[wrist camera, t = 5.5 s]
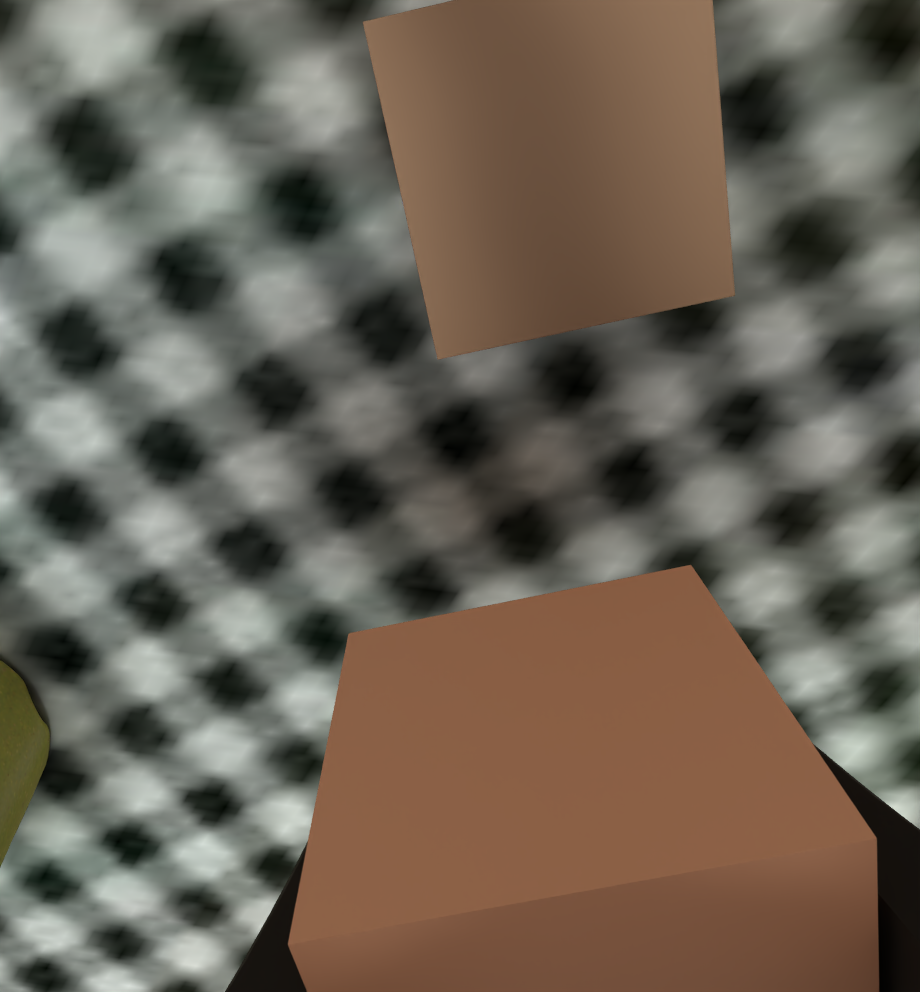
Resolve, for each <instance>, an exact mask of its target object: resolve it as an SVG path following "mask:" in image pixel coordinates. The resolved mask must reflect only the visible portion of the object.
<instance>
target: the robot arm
mask: <svg viewBox="0 0 920 992" xmlns="http://www.w3.org/2000/svg"><path fill="white" fill-rule="evenodd" d="M812 744H813V743H812ZM813 745H814V744H813ZM814 747H815V748H816V750H817V751H818V753H819V754H820V755H821V757H822V758H823V760H824V761H825V763H826V764H827V766H828V767H829V769H830V770H831V772H832V773H833V775H834V776H835V778H836V779H837V781H838V782H839V783H840V785H841V786H842V788H843V789H844V791H845V792H846V794H847V795H848V797H849V798H850V800H851V801H852V803H853V804H854V806H855V807H856V808H857V810H858V811H859V813H860V814H861V816H862V817H863V819H864V820H865V822H866V823H867V825H868V826H869V828H870V829H871V831H872V832H873V833H874V835H875V836H876V838H877V884H878V947H879V992H920V829H918V828H917V827H916V826H914V825H913V824H912V823H910V822H909V821H908V820H906V819H905V818H904V817H903V816H901V815H900V814H899V813H897V812H896V811H895V810H894V809H892V808H891V807H890V806H888V805H887V804H886V803H885V802H883V801H882V800H881V799H880V798H878V797H877V796H876V795H875V794H873V793H872V792H871V791H870V790H868V789H867V788H866V787H865V786H863V785H862V784H861V783H860V782H858V781H857V780H856V779H855V778H854V777H852V776H851V775H850V774H849V773H847V772H846V771H845V770H844V769H843V768H841V767H840V766H839V765H838V764H837V763H835V762H834V761H833V760H832V759H831V758H829V757H828V756H827V755H826V754H825V753H823V752H822V751H821V750H820V749H819V748H817V747H816V746H815V745H814ZM307 844H308V842H307ZM307 844H306V846H305V848H304V850H303V852H302V854H301V856H300V858H299V860H298V862H297V864H296V866H295V867H294V869H293V871H292V873H291V875H290V877H289V879H288V881H287V883H286V885H285V887H284V888H283V890H282V892H281V894H280V896H279V898H278V900H277V901H276V903H275V905H274V907H273V909H272V911H271V913H270V914H269V916H268V918H267V920H266V922H265V923H264V925H263V927H262V929H261V930H260V932H259V934H258V936H257V937H256V939H255V941H254V943H253V945H252V946H251V948H250V950H249V952H248V953H247V955H246V957H245V959H244V960H243V962H242V964H241V966H240V967H239V969H238V971H237V973H236V974H235V976H234V978H233V979H232V981H231V983H230V984H229V986H228V988H227V989H226V991H225V992H307V990H306V988H305V985H304V983H303V980H302V978H301V975H300V973H299V971H298V968H297V966H296V963H295V961H294V958H293V956H292V954H291V951H290V949H289V946H288V941H289V936H290V931H291V926H292V921H293V915H294V910H295V905H296V900H297V895H298V890H299V885H300V880H301V875H302V869H303V864H304V859H305V854H306V849H307Z"/></svg>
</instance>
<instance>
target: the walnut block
mask: <svg viewBox="0 0 920 992" xmlns="http://www.w3.org/2000/svg"><path fill="white" fill-rule="evenodd" d="M363 25H364V29H365V34H366V38H367V43H368V47H369V52H370V56H371V61H372V65H373V70H374V74H375V79H376V83H377V88H378V92H379V97H380V101H381V106H382V110H383V115H384V119H385V124H386V128H387V133H388V137H389V142H390V146H391V151H392V156H393V160H394V165H395V169H396V174H397V178H398V183H399V187H400V192H401V196H402V201H403V205H404V210H405V214H406V219H407V223H408V228H409V232H410V237H411V241H412V246H413V250H414V255H415V259H416V264H417V268H418V273H419V277H420V282H421V286H422V291H423V295H424V300H425V304H426V309H427V313H428V318H429V323H430V327H431V332H432V336H433V341H434V345H435V350H436V354H437V359H443V358H447V357H452V356H457V355H461V354H466V353H471V352H475V351H480V350H485V349H489V348H494V347H498V346H503V345H508V344H512V343H517V342H522V341H526V340H531V339H536V338H540V337H545V336H550V335H554V334H559V333H564V332H568V331H573V330H578V329H582V328H587V327H591V326H596V325H601V324H605V323H610V322H615V321H619V320H624V319H629V318H633V317H638V316H643V315H647V314H652V313H657V312H661V311H666V310H671V309H675V308H680V307H685V306H689V305H694V304H698V303H703V302H708V301H712V300H717V299H722V298H726V297H731V296H735V290H734V276H733V263H732V250H731V237H730V224H729V211H728V198H727V184H726V171H725V158H724V145H723V132H722V119H721V106H720V92H719V79H718V66H717V53H716V40H715V27H714V14H713V0H453V1H449V2H445V3H440V4H436V5H432V6H428V7H424V8H419V9H415V10H411V11H407V12H403V13H398V14H394V15H390V16H386V17H381V18H377V19H373V20H369V21H365V22H363Z"/></svg>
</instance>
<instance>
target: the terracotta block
mask: <svg viewBox="0 0 920 992" xmlns="http://www.w3.org/2000/svg"><path fill="white" fill-rule="evenodd" d="M288 946H289V949H290V951H291V954H292V956H293V958H294V961H295V963H296V966H297V968H298V971H299V973H300V975H301V978H302V980H303V983H304V985H305V988H306V990H307V992H879V947H878V884H877V838H876V836H875V835H874V833H873V832H872V831H871V829H870V828H869V826H868V825H867V823H866V822H865V820H864V819H863V817H862V816H861V814H860V813H859V811H858V810H857V808H856V807H855V806H854V804H853V803H852V801H851V800H850V798H849V797H848V795H847V794H846V792H845V791H844V789H843V788H842V786H841V785H840V783H839V782H838V781H837V779H836V778H835V776H834V775H833V773H832V772H831V770H830V769H829V767H828V766H827V764H826V763H825V761H824V760H823V758H822V757H821V755H820V754H819V753H818V751H817V750H816V748H815V747H814V745H813V744H812V742H811V741H810V739H809V738H808V736H807V735H806V733H805V732H804V730H803V729H802V728H801V726H800V725H799V723H798V722H797V720H796V719H795V717H794V716H793V714H792V713H791V711H790V710H789V708H788V707H787V705H786V704H785V703H784V701H783V700H782V698H781V697H780V695H779V694H778V692H777V691H776V689H775V688H774V686H773V685H772V683H771V682H770V680H769V679H768V677H767V676H766V675H765V673H764V672H763V670H762V669H761V667H760V666H759V664H758V663H757V661H756V660H755V658H754V657H753V655H752V654H751V652H750V651H749V650H748V648H747V647H746V645H745V644H744V642H743V641H742V639H741V638H740V636H739V635H738V633H737V632H736V630H735V629H734V627H733V626H732V625H731V623H730V622H729V620H728V619H727V617H726V616H725V614H724V613H723V611H722V610H721V608H720V607H719V605H718V604H717V602H716V601H715V599H714V598H713V597H712V595H711V594H710V592H709V591H708V589H707V588H706V586H705V585H704V583H703V582H702V580H701V579H700V577H699V576H698V574H697V573H696V572H695V570H694V569H693V567H692V566H691V565H688V566H683V567H678V568H673V569H668V570H663V571H658V572H653V573H648V574H643V575H638V576H633V577H628V578H623V579H618V580H613V581H608V582H603V583H598V584H593V585H588V586H583V587H578V588H573V589H568V590H563V591H558V592H553V593H548V594H543V595H538V596H533V597H528V598H523V599H518V600H513V601H508V602H503V603H498V604H493V605H488V606H483V607H478V608H473V609H468V610H463V611H458V612H453V613H448V614H443V615H438V616H433V617H428V618H423V619H418V620H413V621H408V622H403V623H398V624H393V625H388V626H383V627H378V628H373V629H368V630H363V631H358V632H353V633H349V634H348V639H347V645H346V650H345V655H344V660H343V665H342V670H341V675H340V680H339V685H338V691H337V696H336V701H335V706H334V711H333V716H332V721H331V726H330V731H329V737H328V742H327V747H326V752H325V757H324V762H323V767H322V772H321V777H320V783H319V788H318V793H317V798H316V803H315V808H314V813H313V818H312V823H311V829H310V834H309V839H308V844H307V849H306V854H305V859H304V864H303V869H302V875H301V880H300V885H299V890H298V895H297V900H296V905H295V910H294V915H293V921H292V926H291V931H290V936H289V941H288Z"/></svg>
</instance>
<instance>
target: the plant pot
mask: <svg viewBox="0 0 920 992" xmlns="http://www.w3.org/2000/svg"><path fill="white" fill-rule="evenodd" d="M49 743H50V735H49V729H48V726H47V725H46V724H45V723H44V722H43V721H42V719H41V718H40V716H39V714H38V712H37V710H36V709H35V706H34V704H33V702H32V700H31V698H30V695H29V693H28V690H27V687H26V685H25V683H24V681H23V680H22V678H21V677H20V676H19V675H18V674H17V673H16V672H14V671H13V670H12V669H11V668H10V667H9V666H7V665H6V664H5V663H4V662H2V661H1V660H0V867H1V864H2V862H3V860H4V857H5V855H6V853H7V851H8V848H9V846H10V844H11V842H12V839H13V837H14V835H15V833H16V831H17V829H18V827H19V824H20V822H21V820H22V818H23V816H24V814H25V811H26V809H27V807H28V805H29V803H30V800H31V798H32V796H33V794H34V791H35V789H36V786H37V784H38V782H39V779H40V777H41V775H42V772H43V770H44V768H45V765H46V762H47V759H48V753H49Z"/></svg>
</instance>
